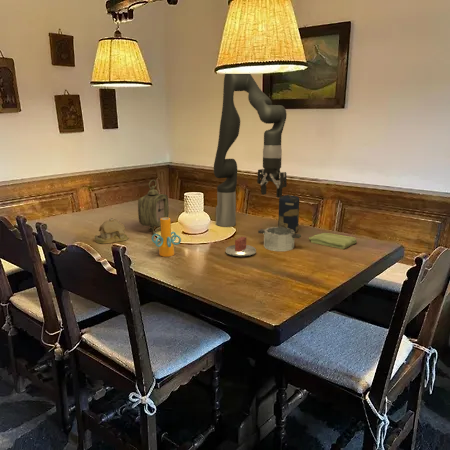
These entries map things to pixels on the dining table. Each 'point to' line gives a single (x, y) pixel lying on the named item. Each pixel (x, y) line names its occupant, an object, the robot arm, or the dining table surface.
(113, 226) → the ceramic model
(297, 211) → the canister
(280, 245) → the pot
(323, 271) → the dining table surface
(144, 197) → the tabletop clock
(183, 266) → the dining table surface
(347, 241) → the washcloth
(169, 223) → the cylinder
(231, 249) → the lid
